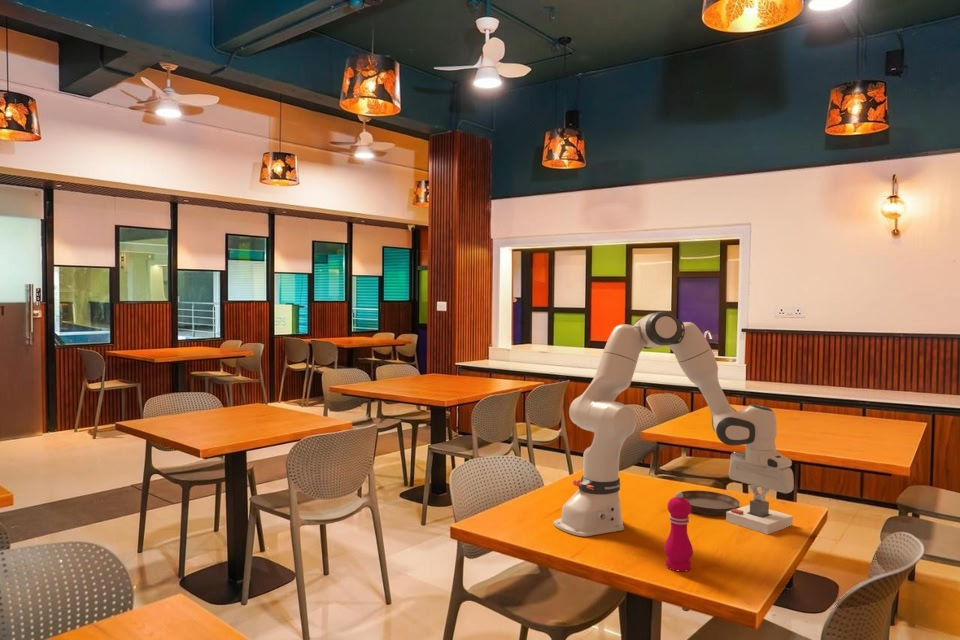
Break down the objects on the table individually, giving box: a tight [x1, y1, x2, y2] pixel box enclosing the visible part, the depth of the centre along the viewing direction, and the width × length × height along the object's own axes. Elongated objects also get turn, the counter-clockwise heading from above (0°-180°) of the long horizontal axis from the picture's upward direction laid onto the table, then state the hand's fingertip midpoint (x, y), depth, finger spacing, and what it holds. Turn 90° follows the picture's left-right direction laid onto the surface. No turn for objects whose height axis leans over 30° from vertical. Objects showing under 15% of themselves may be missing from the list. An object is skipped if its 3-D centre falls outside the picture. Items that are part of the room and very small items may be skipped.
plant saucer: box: [675, 489, 741, 516], centre depth 220 cm, size 21×21×3 cm
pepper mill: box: [663, 491, 694, 572], centre depth 170 cm, size 7×7×20 cm
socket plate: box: [725, 504, 794, 535], centre depth 204 cm, size 14×14×4 cm
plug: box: [749, 499, 770, 518], centre depth 204 cm, size 4×4×7 cm
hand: (759, 500), depth 204 cm, fingers closed
